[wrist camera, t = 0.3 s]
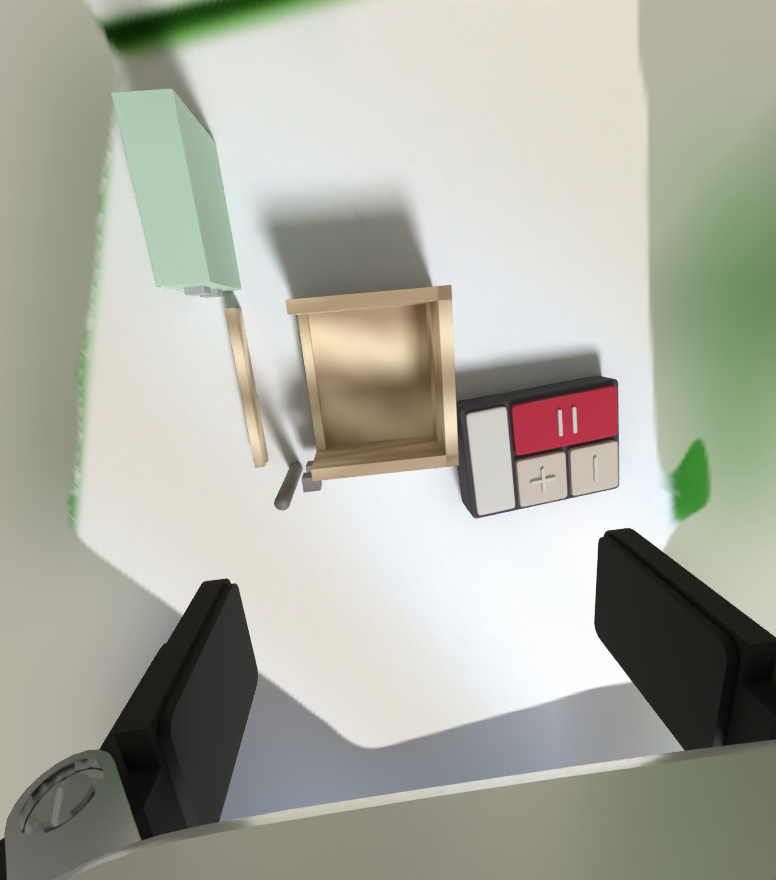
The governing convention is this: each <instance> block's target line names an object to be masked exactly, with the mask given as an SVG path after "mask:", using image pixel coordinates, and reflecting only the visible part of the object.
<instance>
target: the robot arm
mask: <svg viewBox="0 0 776 880" xmlns="http://www.w3.org/2000/svg"><path fill="white" fill-rule="evenodd" d="M594 624H595V630H596V633H597V635H598V637H599V638H600V640H601V641H602V642H603V644H604V645H605V646H606V648H607V649H608V650H609V652H610V653H611V654H612V656H613V657H614V658H615V660H616V661H617V662H618V663H619V665H620V666H621V667H622V669H623V670H624V671H625V673H626V674H627V675H628V677H629V678H630V679H631V681H632V682H633V683H634V684H635V686H636V687H637V688H638V690H639V691H640V692H641V693H642V695H643V696H644V698H645V699H646V700H647V702H648V703H649V704H650V705H651V707H652V708H653V709H654V711H655V712H656V713H657V715H658V716H659V717H660V719H661V720H662V721H663V722H664V724H665V725H666V726H667V728H668V729H669V730H670V732H671V733H672V734H673V736H674V737H675V738H676V739H677V741H678V742H679V744H680V745H681V746H682V747H683V749H684V750H685V751H680V752H673V753H666V754H658V755H652V756H644V757H638V758H630V759H623V760H616V761H609V762H602V763H595V764H589V765H581V766H574V767H567V768H560V769H554V770H547V771H540V772H533V773H527V774H520V775H513V776H507V777H499V778H493V779H486V780H479V781H474V782H466V783H459V784H453V785H446V786H439V787H433V788H426V789H420V790H413V791H407V792H400V793H394V794H387V795H381V796H374V797H368V798H362V799H356V800H349V801H343V802H336V803H330V804H323V805H317V806H310V807H304V808H297V809H291V810H285V811H280V812H274V813H268V814H262V815H257V816H251V817H245V818H239V819H234V820H228V821H222V822H219V820H220V816H221V813H222V809H223V805H224V802H225V798H226V795H227V791H228V787H229V784H230V780H231V777H232V773H233V769H234V766H235V762H236V758H237V755H238V751H239V748H240V744H241V741H242V737H243V733H244V730H245V726H246V722H247V719H248V715H249V712H250V708H251V704H252V701H253V697H254V694H255V690H256V686H257V680H258V670H257V665H256V661H255V656H254V652H253V648H252V643H251V639H250V635H249V631H248V626H247V622H246V618H245V613H244V609H243V605H242V600H241V596H240V592H239V588H238V585H237V584H231V582H230V581H229V579H220V580H212V581H205V582H203V583H202V584H201V586H200V588H199V589H198V591H197V593H196V594H195V596H194V598H193V599H192V601H191V603H190V604H189V606H188V608H187V610H186V611H185V613H184V615H183V616H182V618H181V620H180V621H179V623H178V625H177V626H176V628H175V630H174V631H173V633H172V635H171V637H170V638H169V640H168V642H167V643H165V644H164V645H163V646H162V647H161V648H160V650H159V651H158V653H157V655H156V656H155V658H154V660H153V661H152V663H151V665H150V666H149V668H148V669H147V671H146V673H145V675H144V676H143V678H142V679H141V681H140V683H139V685H138V686H137V688H136V689H135V691H134V693H133V694H132V696H131V698H130V699H129V701H128V703H127V704H126V706H125V708H124V709H123V711H122V713H121V714H120V716H119V718H118V719H117V721H116V723H115V724H114V726H113V728H112V729H111V731H110V733H109V734H108V736H107V738H106V739H105V741H104V743H103V744H102V746H101V748H100V749H99V750H87V751H84V752H81V753H78V754H74V755H72V756H70V757H68V758H66V759H64V760H62V761H61V762H59V763H57V764H55V765H54V766H53V767H51V768H50V769H49V770H47V771H46V772H44V773H43V774H42V775H41V776H40V777H39V778H37V779H36V780H35V781H34V782H33V783H32V784H31V785H30V786H29V787H28V788H27V789H26V790H25V792H24V793H23V794H22V795H21V797H20V798H19V799H18V801H17V802H16V803H15V805H14V807H13V809H12V811H11V812H10V814H9V816H8V818H7V822H6V828H5V837H4V838H3V839H2V840H0V880H776V637H774V636H773V635H772V634H770V633H769V632H768V631H767V630H765V629H764V628H762V627H761V626H760V625H759V624H757V623H756V622H755V621H753V620H752V619H750V618H749V617H748V616H747V615H745V614H744V613H743V612H741V611H740V610H739V609H737V608H736V607H735V606H733V605H732V604H731V603H730V602H728V601H727V600H726V599H724V598H723V597H721V596H720V595H719V594H718V593H716V592H715V591H714V590H712V589H711V588H710V587H708V586H707V585H706V584H704V583H703V582H702V581H700V580H699V579H698V578H696V577H695V576H694V575H692V574H691V573H690V572H688V571H687V570H686V569H685V568H683V567H682V566H681V565H679V564H678V563H677V562H675V561H674V560H673V559H671V558H670V557H669V556H667V555H666V554H665V553H663V552H662V551H661V550H659V549H658V548H657V547H656V546H654V545H653V544H652V543H650V542H649V541H648V540H646V539H645V538H644V537H642V536H641V535H640V534H638V533H637V532H636V531H634V530H633V529H631V528H625V529H617V530H609V531H607V532H605V534H604V537H601V538H600V539H599V542H598V560H597V580H596V600H595V620H594Z"/></svg>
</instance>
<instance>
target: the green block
mask: <svg viewBox="0 0 776 880" xmlns="http://www.w3.org/2000/svg"><path fill="white" fill-rule="evenodd" d="M111 94H112V98H113V103H114V107H115V111H116V115H117V120H118V124H119V128H120V133H121V137H122V141H123V145H124V150H125V154H126V158H127V163H128V167H129V171H130V176H131V180H132V184H133V188H134V193H135V197H136V201H137V206H138V210H139V214H140V219H141V223H142V227H143V231H144V236H145V240H146V244H147V249H148V253H149V257H150V261H151V266H152V270H153V274H154V279H155V283H156V287H160V288H167V289H173V290H179V291H185V295H191V296H195V295H200V297H205V298H208V297H219V296H224V295H223V291H235V290H241V284H240V278H239V273H238V267H237V261H236V256H235V250H234V244H233V239H232V233H231V228H230V222H229V216H228V211H227V205H226V199H225V194H224V188H223V183H222V177H221V171H220V166H219V160H218V154H217V149H216V143H215V141H214V140H213V139H212V137H211V136H210V135H209V134H208V132H207V131H206V130H205V129H204V127H203V126H202V125H201V124H200V122H199V121H198V120H197V119H196V117H195V116H194V115H193V114H192V112H191V111H190V110H189V109H188V108H187V106H186V105H185V104H184V103H183V101H182V100H181V99H180V98H179V96H178V95H177V94H176V93H175V91H174V90H173V89H157V90H142V91H127V92H112V93H111Z"/></svg>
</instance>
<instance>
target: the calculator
mask: <svg viewBox="0 0 776 880" xmlns="http://www.w3.org/2000/svg"><path fill="white" fill-rule="evenodd" d="M456 411H457V435H458V459H459V465H458V471H459V479H460V487H461V494H462V501H463V503H464V505H465V506H466V508H467V509H468V511H469V512H470V513H471V515H472V516H473V517H474V518H481V517H485V516H490V515H495V514H499V513H504V512H509V511H513V510H518V509H523V508H527V507H532V506H536V505H541V504H546V503H550V502H555V501H560V500H564V499H569V498H574V497H578V496H583V495H588V494H592V493H597V492H601V491H606V490H611V489H615V488H617V487H618V486H619V425H618V381H617V380H615V379H611V378H606V377H602V376H593V377H588V378H582V379H577V380H572V381H566V382H561V383H555V384H550V385H545V386H540V387H535V388H530V389H525V390H519V391H514V392H509V393H504V394H499V395H490V396H484V397H479V398H473V399H468V400H462V401H457V402H456Z"/></svg>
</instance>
